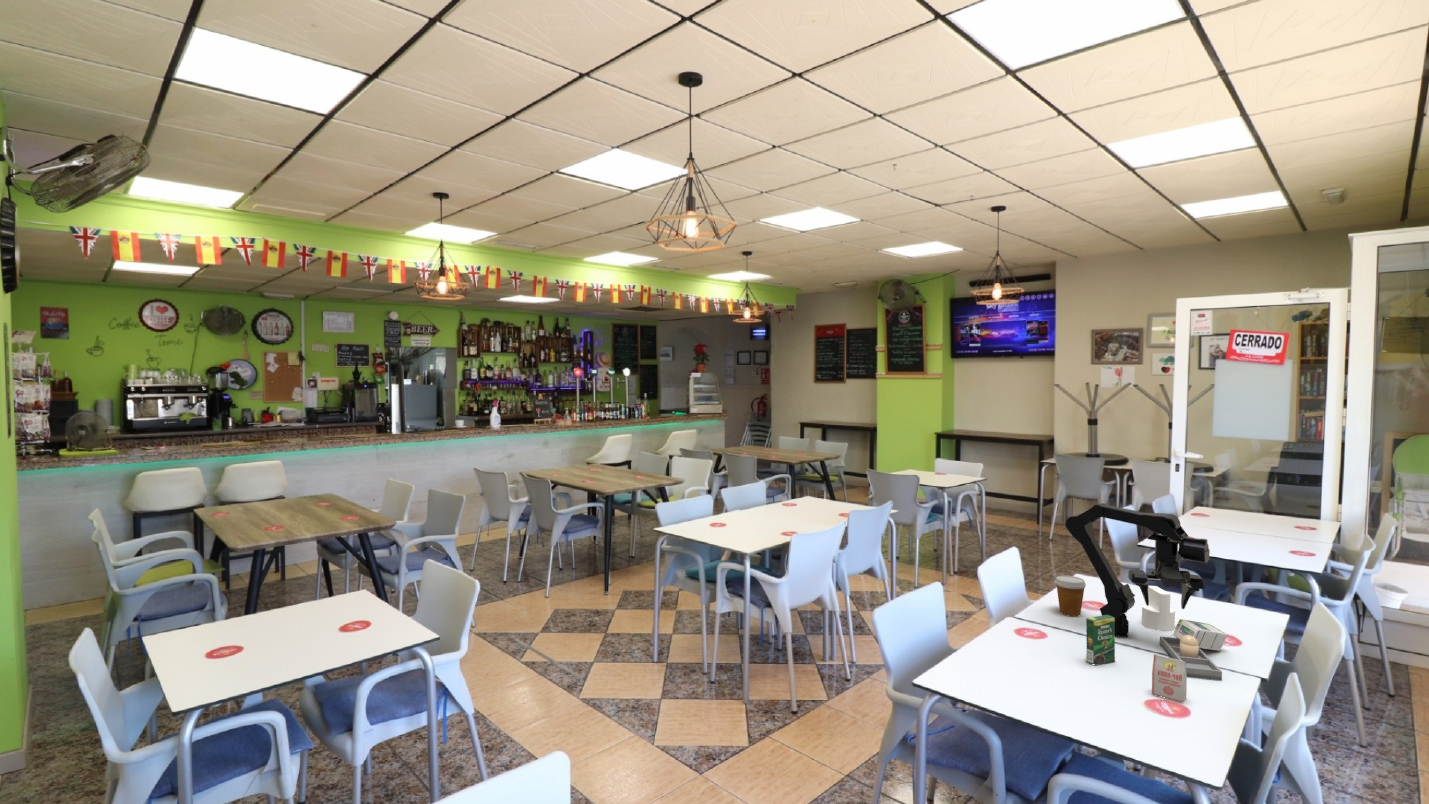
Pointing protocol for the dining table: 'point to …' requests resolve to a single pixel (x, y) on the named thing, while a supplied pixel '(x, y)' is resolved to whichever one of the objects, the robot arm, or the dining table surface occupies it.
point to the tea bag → (1169, 678)
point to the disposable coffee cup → (1070, 594)
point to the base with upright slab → (1158, 611)
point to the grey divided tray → (1192, 660)
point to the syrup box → (1201, 634)
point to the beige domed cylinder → (1189, 646)
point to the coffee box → (1100, 639)
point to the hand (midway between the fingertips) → (1164, 607)
